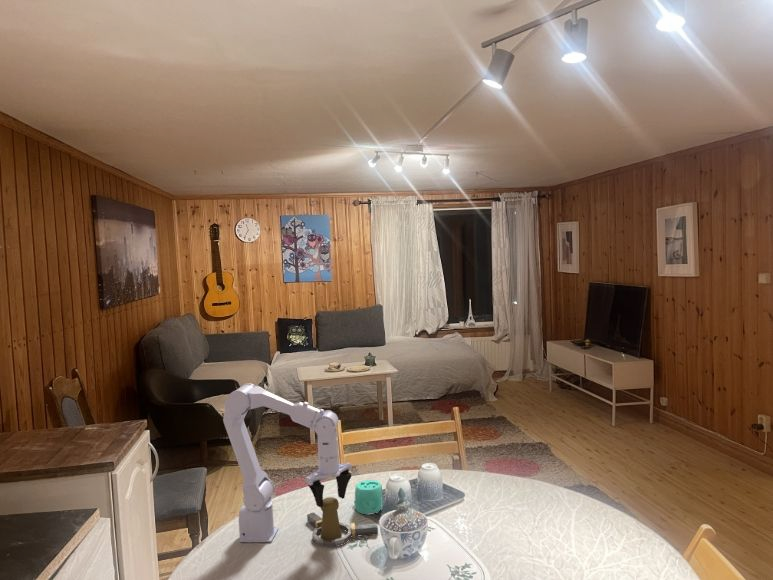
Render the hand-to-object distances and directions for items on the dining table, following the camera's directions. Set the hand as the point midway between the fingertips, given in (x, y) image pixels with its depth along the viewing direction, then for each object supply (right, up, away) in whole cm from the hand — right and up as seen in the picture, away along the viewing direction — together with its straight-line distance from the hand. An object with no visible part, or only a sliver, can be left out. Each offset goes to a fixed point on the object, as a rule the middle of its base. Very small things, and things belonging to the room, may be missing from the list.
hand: (330, 501), depth 160 cm
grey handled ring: (+2, -10, +3) cm, 11 cm away
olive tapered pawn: (0, -11, +1) cm, 11 cm away
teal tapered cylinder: (+11, -9, +17) cm, 22 cm away
